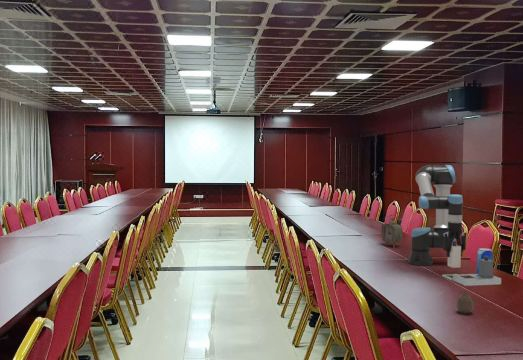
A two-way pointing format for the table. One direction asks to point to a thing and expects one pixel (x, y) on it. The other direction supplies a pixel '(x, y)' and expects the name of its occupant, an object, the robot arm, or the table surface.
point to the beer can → (481, 254)
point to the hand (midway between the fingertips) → (454, 262)
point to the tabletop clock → (391, 232)
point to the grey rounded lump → (464, 303)
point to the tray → (448, 275)
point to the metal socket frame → (475, 280)
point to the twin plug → (485, 267)
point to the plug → (455, 256)
